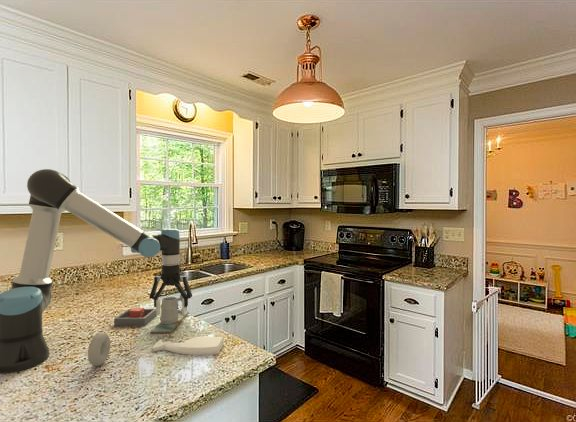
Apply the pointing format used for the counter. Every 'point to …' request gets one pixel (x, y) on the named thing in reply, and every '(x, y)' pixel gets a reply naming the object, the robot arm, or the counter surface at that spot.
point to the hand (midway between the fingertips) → (171, 314)
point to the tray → (126, 321)
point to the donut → (99, 349)
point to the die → (136, 313)
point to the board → (168, 325)
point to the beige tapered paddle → (192, 346)
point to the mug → (170, 310)
